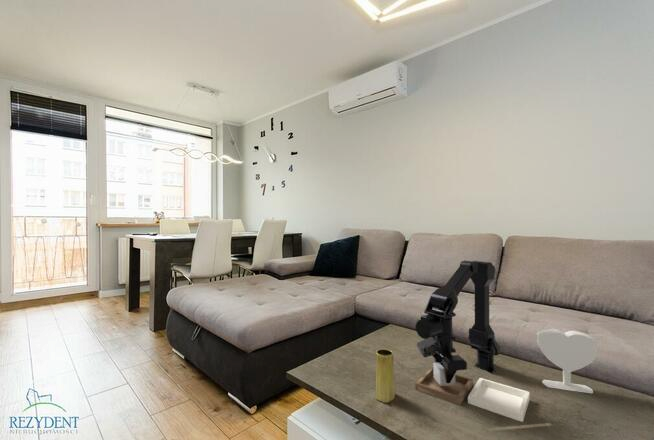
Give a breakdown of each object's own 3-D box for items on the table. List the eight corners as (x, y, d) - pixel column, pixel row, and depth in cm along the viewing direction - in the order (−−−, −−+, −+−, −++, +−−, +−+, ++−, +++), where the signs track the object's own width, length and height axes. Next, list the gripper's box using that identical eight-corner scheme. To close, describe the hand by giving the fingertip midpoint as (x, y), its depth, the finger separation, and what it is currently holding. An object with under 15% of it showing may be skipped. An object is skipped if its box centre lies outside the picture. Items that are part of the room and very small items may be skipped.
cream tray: (479, 385, 103) (479, 377, 103) (529, 400, 94) (529, 392, 94) (468, 405, 92) (467, 396, 92) (522, 424, 83) (522, 415, 83)
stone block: (433, 377, 103) (433, 362, 103) (447, 376, 104) (447, 361, 103) (440, 385, 98) (440, 369, 98) (455, 384, 99) (455, 368, 99)
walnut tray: (431, 373, 111) (431, 366, 111) (473, 386, 102) (472, 379, 102) (415, 391, 100) (415, 383, 100) (460, 407, 91) (460, 398, 91)
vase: (395, 403, 93) (394, 357, 93) (375, 401, 94) (374, 355, 94) (395, 392, 99) (394, 348, 99) (376, 391, 100) (375, 347, 100)
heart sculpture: (592, 386, 101) (591, 331, 101) (600, 394, 96) (598, 337, 96) (537, 378, 106) (536, 326, 106) (541, 386, 101) (540, 331, 101)
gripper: (409, 323, 109) (410, 366, 109) (431, 344, 91) (432, 396, 91) (439, 321, 110) (440, 364, 110) (467, 342, 92) (468, 394, 92)
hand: (444, 378), depth 101 cm, fingers closed on stone block, 5 cm apart
